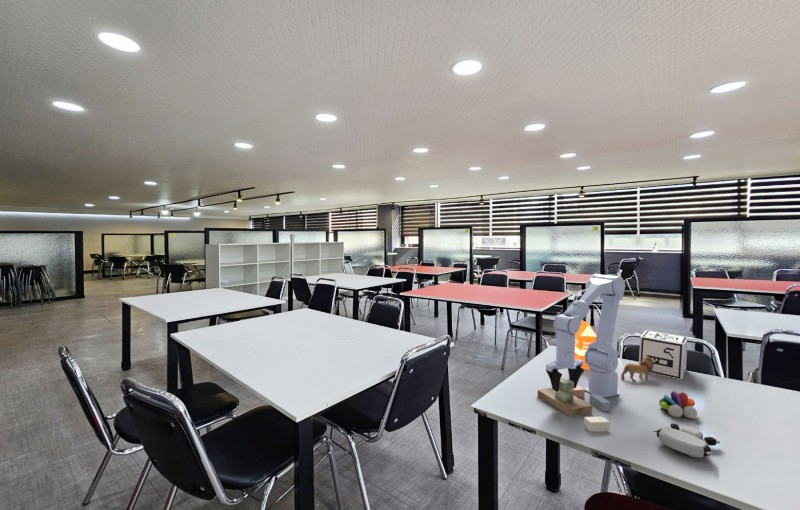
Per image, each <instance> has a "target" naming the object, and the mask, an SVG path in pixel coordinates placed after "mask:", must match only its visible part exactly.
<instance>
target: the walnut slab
mask: <svg viewBox="0 0 800 510" xmlns="http://www.w3.org/2000/svg"><path fill="white" fill-rule="evenodd" d="M537 397H538V399H540V400H542V401H544V402H546V403H547V404H549V405H550V406H552V407H554V409H557V410H558V411H560V412H561V413H563V414H565V415H566V416H567V417H570V418H574V417H577V416H578V417H579V416H583V415H587V414H589V415H590V414H592V413H593V412H592V411H593V404H591V403H588V402H587V401H585V400H583V399H581V398H580V397H579V398H577V397H576V396H573V400H568V401H563V400H561V399H560V398H558V397H556V396H555V390H553V389H552V387H548V388H541V389H537Z"/></svg>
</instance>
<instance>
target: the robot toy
mask: <svg viewBox="0 0 800 510" xmlns="http://www.w3.org/2000/svg"><path fill="white" fill-rule="evenodd" d="M669 425H670V427H663V428H659V429H658V430H653V429H652V430H651V432H652V433H655V434H656V437H657V438H658V440H659V442H661V443H662V444H663V445H665V446H666V447H667V448H670V449H673V450H675V451H676V452H679V453H682V454H685V455H688V456H689V457H691V458H694V459H697V458H699V459H703V457H704V458H708V457H709V456H711V455H713V452H712V449H711V447H712V446H713V447H714V446H717V445H719V444H720V443H721V441H720V440H718V439H717V438H714V437H712V436H705V437H704V434H703V432H702V431H700V430H699V429H697V428H695V427H691V426H687V425H682V426H680V425H678V424H677V423H672V422H670V424H669ZM710 446H711V447H710Z"/></svg>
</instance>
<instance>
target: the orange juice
mask: <svg viewBox="0 0 800 510" xmlns="http://www.w3.org/2000/svg"><path fill="white" fill-rule="evenodd" d="M581 322H582V323H581V325H580V329H579V331H578V332H577V333H576V334H575V360H578V359H579V360H582V361H584V362H583V367H581V368H583V369H584V370H589V367H587V365H588V364H587V363H586V362H585V359H584V355H585V352H586V350H587V348H588V345H589V344H591V343H593V342H595V341H596V335H597V333H596V332H595V330H593V327H591V325H590V323H588V322H587V321H584V319H582V321H581Z"/></svg>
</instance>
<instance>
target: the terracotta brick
mask: <svg viewBox="0 0 800 510" xmlns="http://www.w3.org/2000/svg"><path fill="white" fill-rule="evenodd" d="M583 388H584V387H582V386H580V385H577V386H576V388H574V396H576V397H577V398H579V399H580V398H585V397H586V396H585V394H586V391H585V389H583Z"/></svg>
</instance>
